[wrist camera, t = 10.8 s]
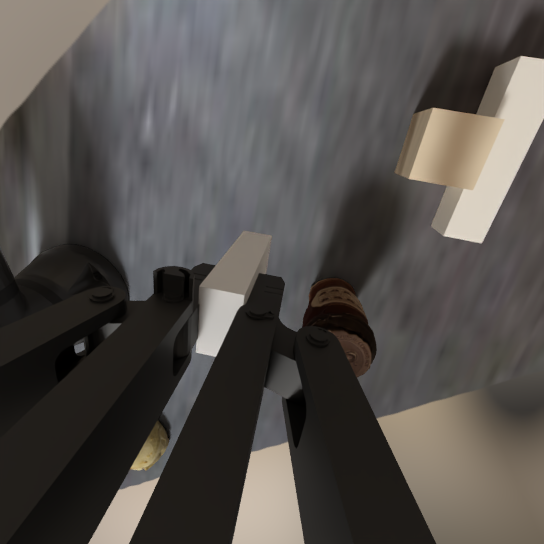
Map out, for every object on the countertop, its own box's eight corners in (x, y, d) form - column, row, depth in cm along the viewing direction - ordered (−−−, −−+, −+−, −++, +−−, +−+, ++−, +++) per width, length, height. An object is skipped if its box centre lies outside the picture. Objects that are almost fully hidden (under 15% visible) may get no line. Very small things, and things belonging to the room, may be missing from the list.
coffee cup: (307, 262, 39) (302, 313, 27) (370, 273, 38) (392, 330, 27) (297, 316, 43) (288, 382, 31) (354, 327, 42) (367, 398, 30)
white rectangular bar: (430, 226, 35) (443, 235, 31) (495, 67, 28) (521, 55, 24) (464, 232, 34) (481, 243, 31) (538, 73, 28) (571, 63, 24)
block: (394, 172, 33) (408, 178, 28) (413, 113, 31) (433, 107, 25) (447, 182, 33) (473, 190, 27) (471, 123, 30) (504, 119, 25)
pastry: (111, 396, 57) (80, 433, 50) (171, 412, 56) (149, 452, 49) (115, 442, 63) (89, 482, 56) (170, 457, 62) (150, 499, 55)
